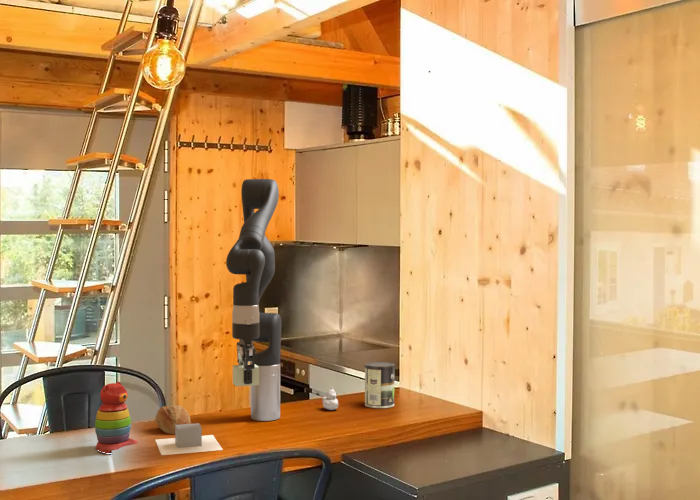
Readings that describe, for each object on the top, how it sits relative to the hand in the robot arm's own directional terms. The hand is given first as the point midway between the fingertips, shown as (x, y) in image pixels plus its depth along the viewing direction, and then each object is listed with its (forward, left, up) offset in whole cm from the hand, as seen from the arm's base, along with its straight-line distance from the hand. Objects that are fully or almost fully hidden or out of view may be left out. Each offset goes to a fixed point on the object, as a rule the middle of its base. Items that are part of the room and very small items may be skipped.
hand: (245, 381), depth 222 cm
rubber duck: (-32, +35, -17) cm, 51 cm away
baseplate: (+1, -16, -17) cm, 24 cm away
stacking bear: (-6, -35, -17) cm, 40 cm away
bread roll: (-18, -18, -18) cm, 31 cm away
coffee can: (-33, +53, -17) cm, 65 cm away
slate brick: (+1, -16, -16) cm, 23 cm away
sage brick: (0, 0, -1) cm, 1 cm away
